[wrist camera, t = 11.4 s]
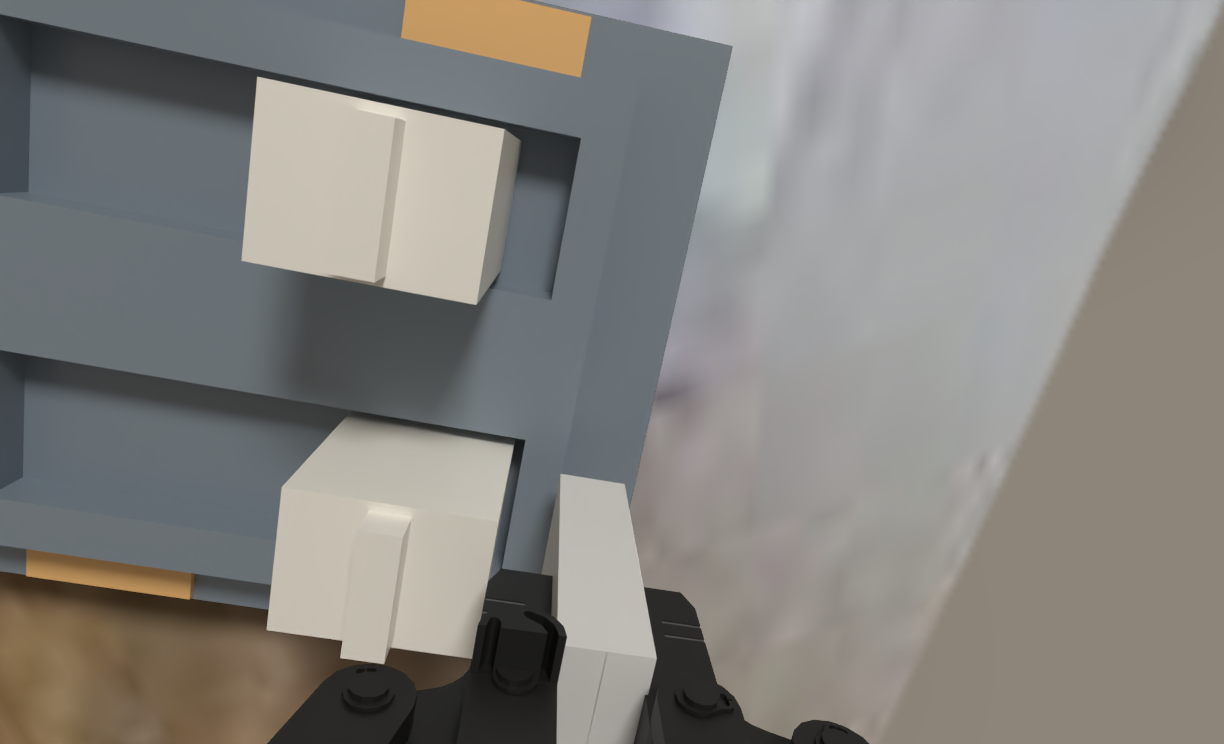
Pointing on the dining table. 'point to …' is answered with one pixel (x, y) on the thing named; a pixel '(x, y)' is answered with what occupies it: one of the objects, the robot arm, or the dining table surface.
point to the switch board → (306, 303)
